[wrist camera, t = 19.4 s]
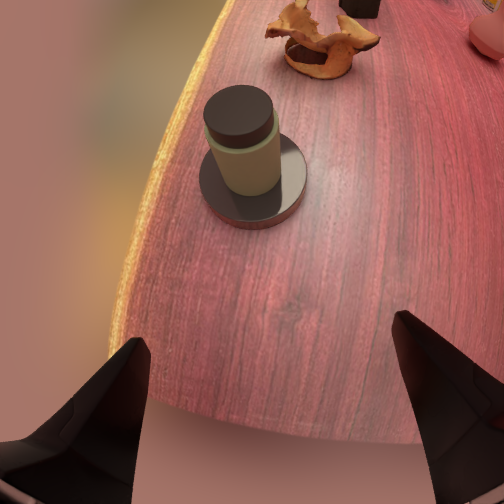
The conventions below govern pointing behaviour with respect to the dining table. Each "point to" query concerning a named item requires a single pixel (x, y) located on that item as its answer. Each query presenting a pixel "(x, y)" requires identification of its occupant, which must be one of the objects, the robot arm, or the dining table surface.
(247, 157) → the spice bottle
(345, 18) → the bone
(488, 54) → the pink bud vase
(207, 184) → the trivet
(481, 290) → the dining table surface
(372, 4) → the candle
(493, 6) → the supplement bottle
